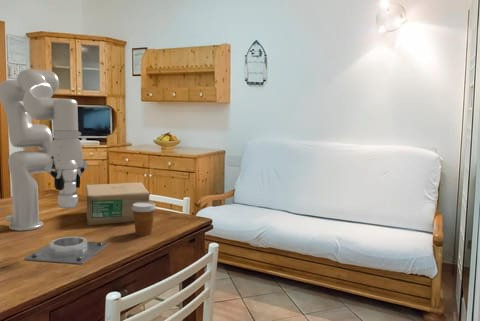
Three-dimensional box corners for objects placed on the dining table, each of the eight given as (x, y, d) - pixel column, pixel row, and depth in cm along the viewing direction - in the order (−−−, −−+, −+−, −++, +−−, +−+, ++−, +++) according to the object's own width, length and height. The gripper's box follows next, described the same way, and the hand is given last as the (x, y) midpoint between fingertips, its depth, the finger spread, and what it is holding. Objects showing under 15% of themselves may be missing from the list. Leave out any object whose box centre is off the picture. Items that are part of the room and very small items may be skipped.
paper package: (87, 226, 179) (86, 194, 178) (85, 212, 203) (85, 183, 201) (151, 221, 189) (151, 191, 188) (142, 208, 213) (142, 181, 211)
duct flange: (24, 259, 139) (24, 249, 138) (57, 241, 159) (56, 231, 158) (82, 263, 137) (82, 253, 136) (108, 244, 156) (108, 235, 156)
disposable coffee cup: (131, 237, 166) (131, 207, 164) (132, 230, 175) (132, 201, 174) (155, 236, 168) (155, 206, 166) (155, 229, 177) (155, 201, 175)
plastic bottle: (65, 205, 149) (63, 149, 147) (82, 206, 148) (81, 149, 146) (53, 209, 143) (51, 150, 141) (71, 211, 142) (70, 151, 139)
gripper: (83, 134, 152) (84, 184, 154) (35, 136, 138) (37, 190, 140) (95, 135, 147) (96, 186, 149) (47, 137, 134) (48, 193, 136)
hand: (67, 188), depth 145 cm, fingers closed on plastic bottle, 5 cm apart
